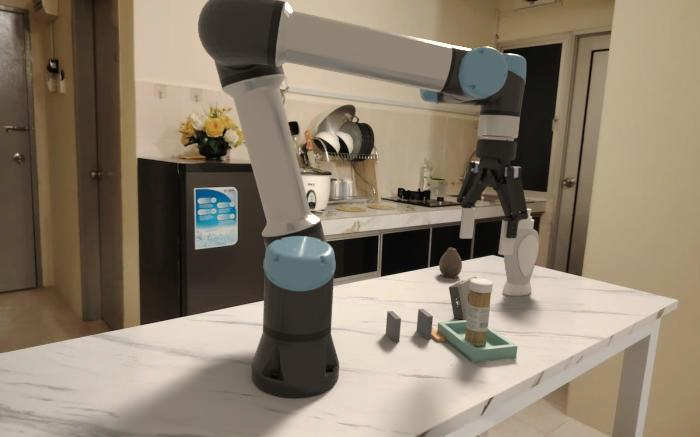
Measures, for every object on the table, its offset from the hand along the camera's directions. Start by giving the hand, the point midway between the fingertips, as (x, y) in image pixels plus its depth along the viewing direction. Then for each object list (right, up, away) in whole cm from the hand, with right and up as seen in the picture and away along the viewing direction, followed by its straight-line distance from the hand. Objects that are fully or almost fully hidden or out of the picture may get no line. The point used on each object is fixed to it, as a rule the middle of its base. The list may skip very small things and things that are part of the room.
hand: (484, 245), depth 96 cm
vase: (+4, -13, +53) cm, 55 cm away
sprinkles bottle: (-1, -21, +4) cm, 21 cm away
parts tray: (-1, -21, +4) cm, 21 cm away
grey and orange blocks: (-13, -20, +7) cm, 25 cm away
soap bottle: (+20, -16, +41) cm, 48 cm away
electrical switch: (+1, -18, +20) cm, 27 cm away
